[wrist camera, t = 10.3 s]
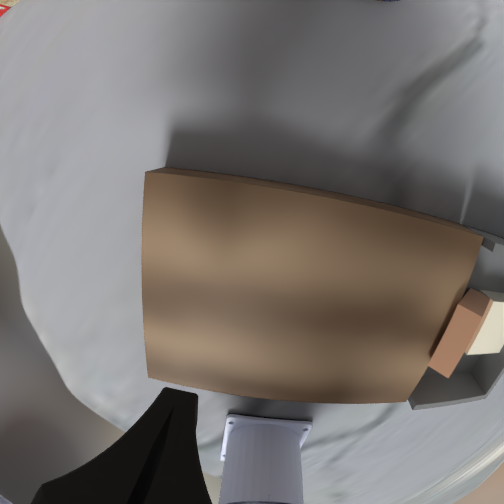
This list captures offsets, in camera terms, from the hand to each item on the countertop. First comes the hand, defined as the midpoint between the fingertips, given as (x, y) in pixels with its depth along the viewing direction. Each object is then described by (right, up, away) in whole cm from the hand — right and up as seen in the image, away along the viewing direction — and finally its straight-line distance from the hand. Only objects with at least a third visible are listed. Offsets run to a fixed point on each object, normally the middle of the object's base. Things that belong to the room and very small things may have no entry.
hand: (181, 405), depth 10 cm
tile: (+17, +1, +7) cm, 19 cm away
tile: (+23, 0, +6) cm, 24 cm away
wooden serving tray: (+7, +3, +9) cm, 11 cm away
